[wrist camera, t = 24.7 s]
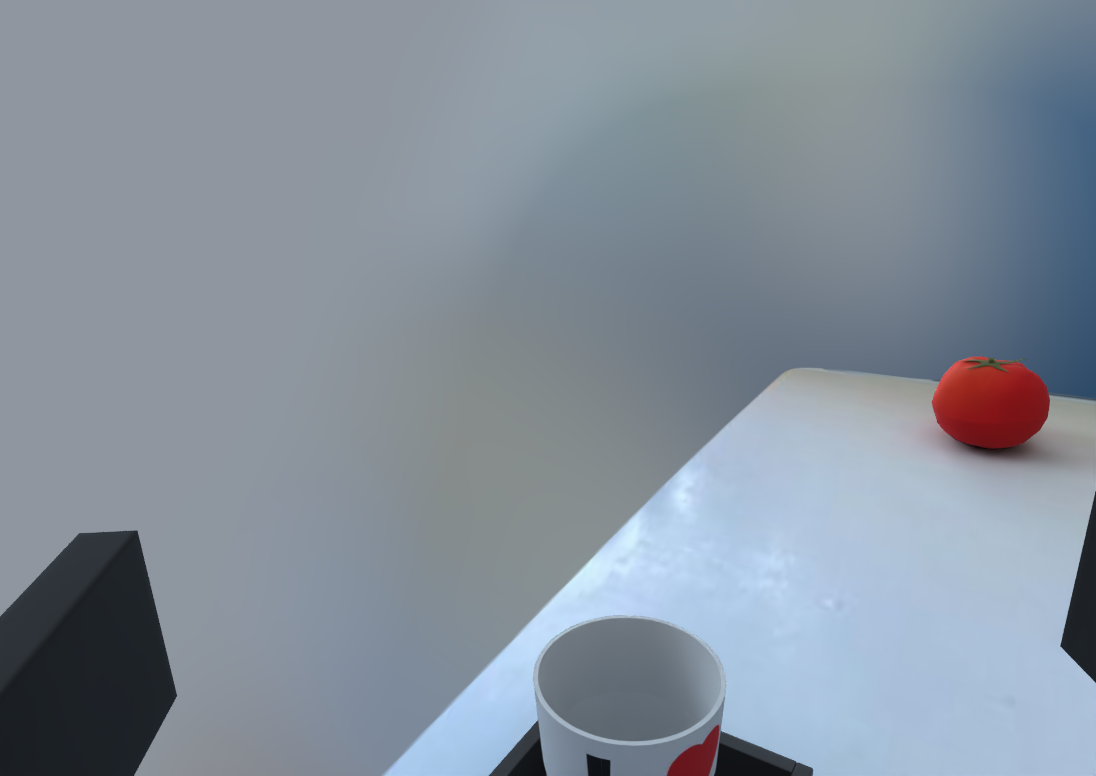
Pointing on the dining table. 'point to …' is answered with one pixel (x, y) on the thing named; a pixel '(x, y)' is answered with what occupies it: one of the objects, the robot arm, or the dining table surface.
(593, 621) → the cup
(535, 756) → the shallow square tray
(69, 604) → the robot arm
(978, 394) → the tomato
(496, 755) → the dining table surface
